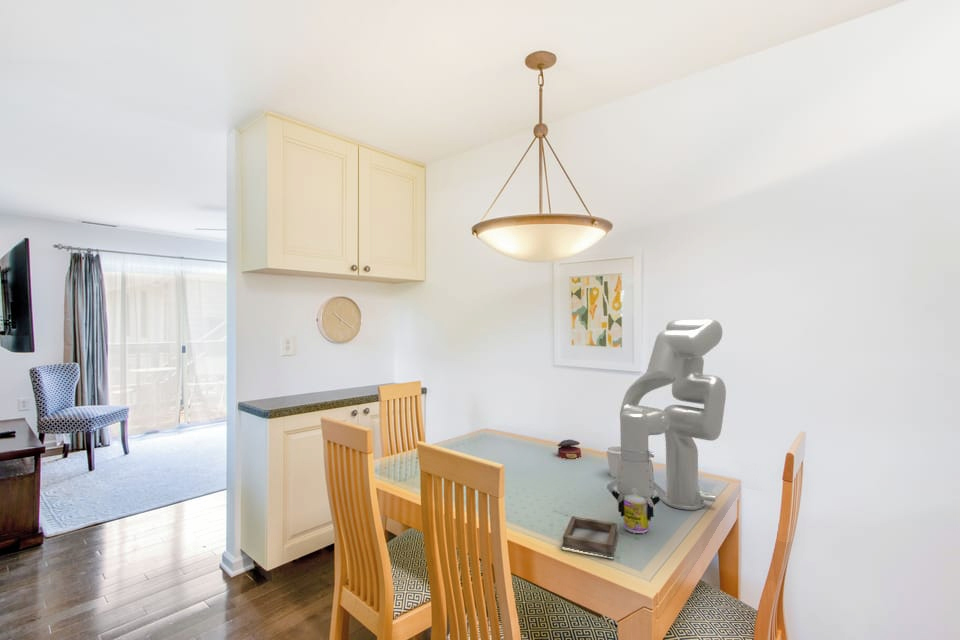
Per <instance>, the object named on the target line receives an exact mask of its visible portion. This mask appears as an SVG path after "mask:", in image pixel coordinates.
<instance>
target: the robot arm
mask: <svg viewBox="0 0 960 640" xmlns="http://www.w3.org/2000/svg"><path fill="white" fill-rule="evenodd" d="M655 338H656V339H655V341H654V344H653V348H652V352H651V355H650V359H649V362H648V365H647V369H646V372H645V373H643V375H641V376H640V377H639V378H638V379H636V380H635V381H634V382H633V383H632V384H631V385H630V386H629V387H628V388H627V390H626V392H625V394H624V397H623V400H622V403H621V406H620V410H619V411H620V412H619V423H620V429H619V430H620V432H619V433H620V447H621V456H620V457H619V459H618V465H617V478H616V477H615V479H613V480H611V482H609V483H608V484H607V485H606V489H607V490H608V492H609V493H611V495H612V497H614V499H615V500H616V502H617V504H618V513H620V517H623V518H624V498H623V497H624V495H633V494H634V493H633V491H632V489H633V488H637V490H638V492H637V493H636V494H637V495H638V496H642V497H646V499H647V501H648V522H652V521H651V520H652V518H654V507H655V506H656V505H657V504H658V503H659V502H660V501H661V500H662V502H663V503H664V504H665V505H667V506H669V507H671V508H676V509H679V510H687V511H695V510H699V509H702V508H704V507H705V501H707V502H712V503H716V496H715V495H713V494H711V493H710V492H705V491H704V492H703V491H701V489H700V486H699V451H698V447H697V444H696V442H695V440H694V439H699V440H703V441H704V440H705V441H710V442H711V441H717V439H719V437H720V436H721V432H722V427H723V421H724V413H725V405H726V398H727V397H726V395H727V389H726V385H725V382H724V380H723V379H722V378H720V377H719V376H717V375H712V374H703V372H704V364H705V362H704V361H705V360H704V357H703V356H705V355H706V354H707V353H709V352H710V351H711V350H713V349H714V348H715V347H716V346H717V345H719V343H720V342H721V340H722V338H723V327H722V325H721V323H720V322H719V321H718V320H716V319H712V318H711V319H708V318H704V319H703V318H702V319H701V318H699V319H698V318H695V319H693V318H691V319H689V318H688V319H686V318H685V319H675V320H671V321H669V322H668V323H666V327H665V330H662V331H661V332H659V333H658V334H657V336H656V337H655ZM670 385H671V394H672V397H673V398H674V399H676V400H678V401H681V402H684V403H685V402H686V403H691V404H698V405H703V408H701V407H695V406H690V405H683V404H672V405H670V404H669V405H667V406H666V407H665V408H664V409H660V408H657V407H650V406H644V405H639V404H640V402H641V400H642V399H643V398H644V396H645V395H647V394H648V393H650V392H652V391H655V390H657V389H659V388H664V387H667V386H670ZM662 434H664V439H665V440H664V441H665V465H666V466H665V476H666V477H665V478H666V481H665V482H666V491H665V490H663V489H662V487H660V486H659V485H658V484H657V483H656V482H655V474H654V467H653V466H654V465H653V461H652V459H650V458H655V452H653V451H650V450H649V436H659V435H662ZM615 486H616V490H615V488H614V487H615ZM655 491H656V493H657V494H656V495H655V496H654V494H655Z"/></svg>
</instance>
